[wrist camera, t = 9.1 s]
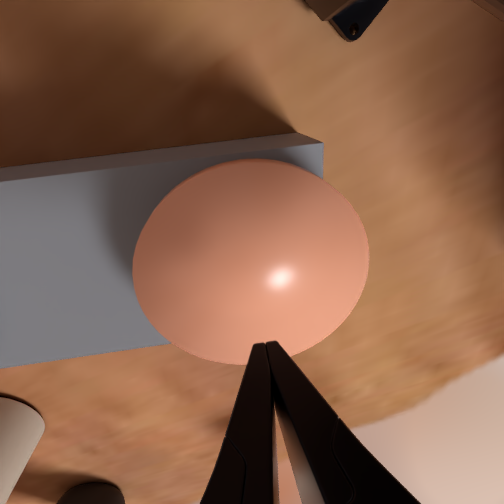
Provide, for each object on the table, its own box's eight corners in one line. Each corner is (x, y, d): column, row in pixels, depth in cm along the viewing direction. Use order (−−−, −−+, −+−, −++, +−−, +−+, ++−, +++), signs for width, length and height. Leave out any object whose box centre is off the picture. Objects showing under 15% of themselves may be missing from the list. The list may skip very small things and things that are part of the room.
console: (297, 132, 17) (323, 142, 13) (300, 278, 23) (319, 321, 18) (-179, 189, 16) (-327, 221, 12) (-58, 329, 21) (-130, 387, 17)
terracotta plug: (228, 97, 15) (233, 95, 9) (358, 214, 19) (414, 261, 13) (127, 245, 18) (87, 307, 13) (255, 317, 22) (267, 388, 17)
